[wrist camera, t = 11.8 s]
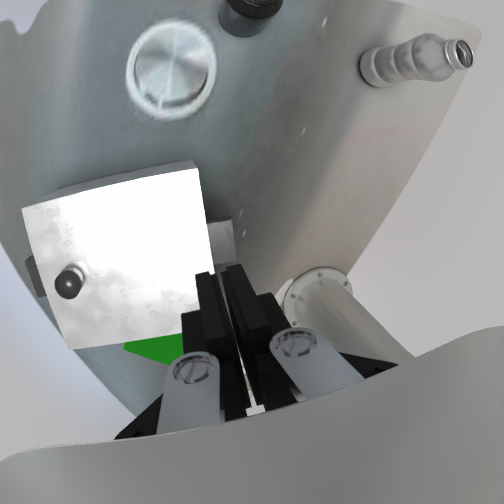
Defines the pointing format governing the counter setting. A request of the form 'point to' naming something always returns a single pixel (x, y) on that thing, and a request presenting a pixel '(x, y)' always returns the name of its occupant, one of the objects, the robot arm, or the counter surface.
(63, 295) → the lid
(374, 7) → the counter surface
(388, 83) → the plastic bottle
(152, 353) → the dish sponge
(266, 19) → the supplement bottle
